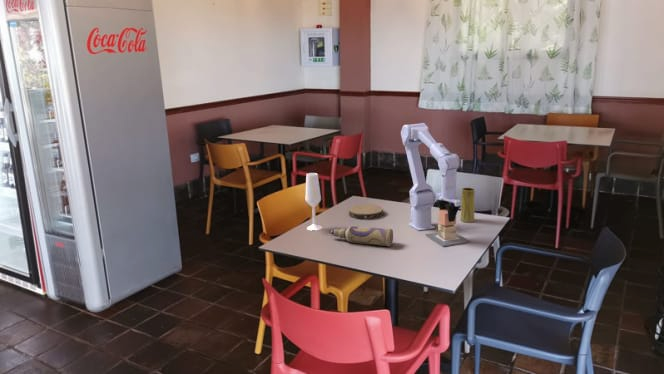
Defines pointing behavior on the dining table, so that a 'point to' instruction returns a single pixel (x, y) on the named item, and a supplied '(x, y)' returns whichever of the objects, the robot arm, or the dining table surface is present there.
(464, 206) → the vase
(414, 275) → the dining table surface
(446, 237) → the beech block
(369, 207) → the wood slice
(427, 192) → the robot arm
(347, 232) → the decorative bottle
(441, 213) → the terracotta block
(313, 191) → the champagne flute
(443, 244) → the baseplate
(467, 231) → the dining table surface
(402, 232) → the dining table surface
